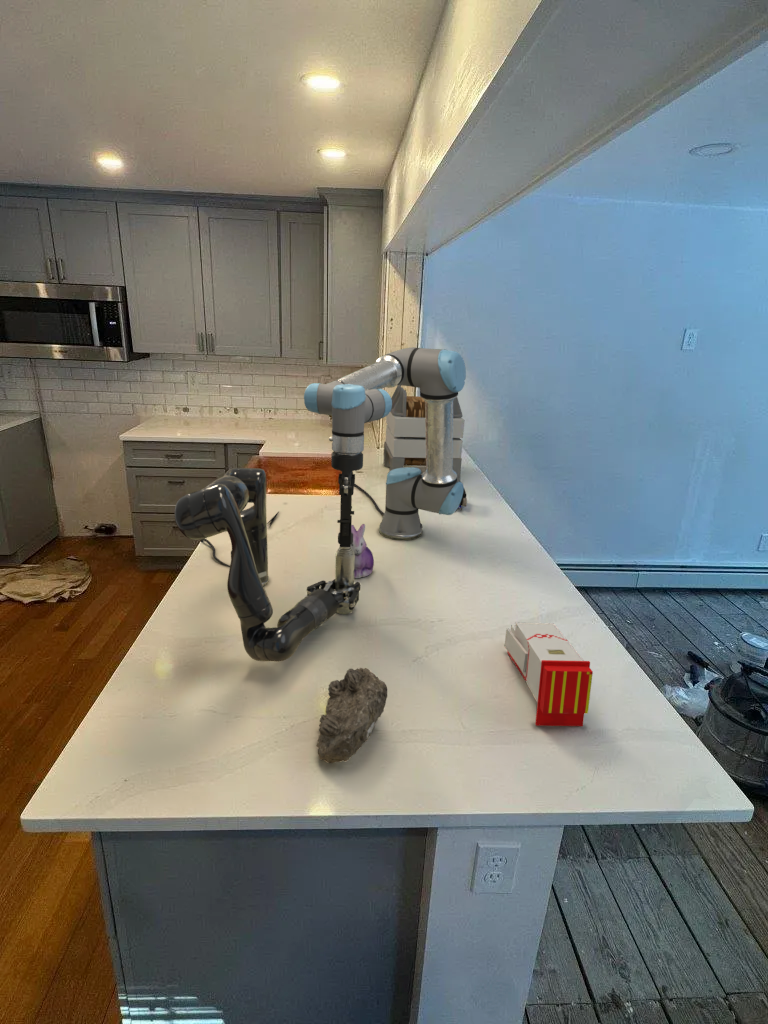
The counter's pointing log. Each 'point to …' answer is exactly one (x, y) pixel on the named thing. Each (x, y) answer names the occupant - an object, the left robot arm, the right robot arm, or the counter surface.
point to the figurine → (361, 553)
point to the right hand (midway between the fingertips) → (345, 542)
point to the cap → (339, 538)
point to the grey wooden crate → (415, 432)
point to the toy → (551, 672)
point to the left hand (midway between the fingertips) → (349, 582)
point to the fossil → (350, 714)
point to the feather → (272, 520)
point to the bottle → (344, 573)
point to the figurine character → (463, 500)
